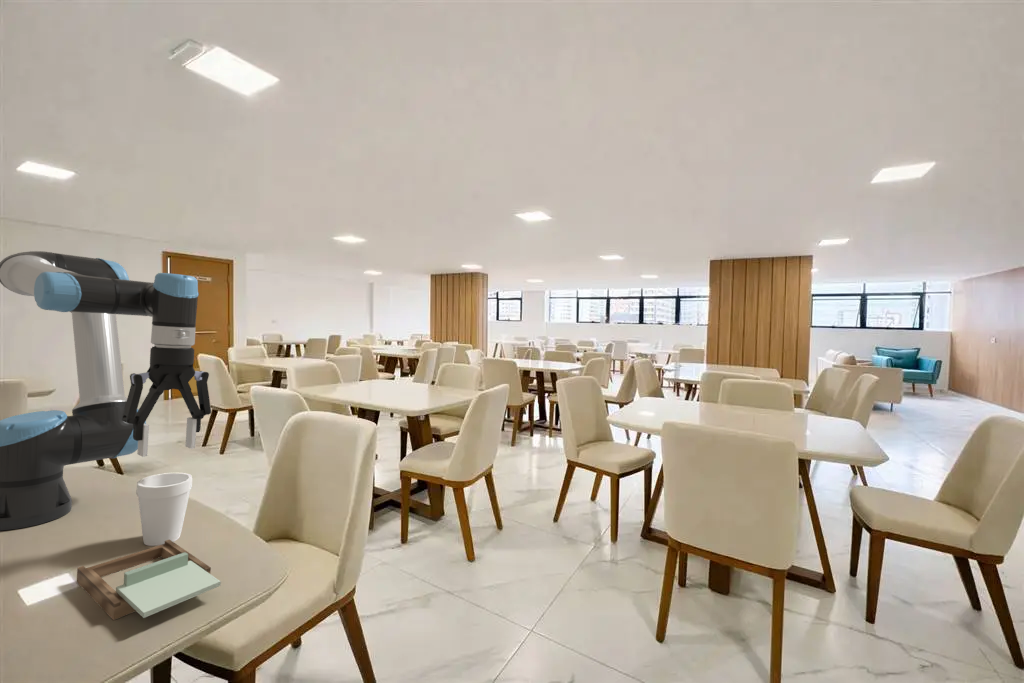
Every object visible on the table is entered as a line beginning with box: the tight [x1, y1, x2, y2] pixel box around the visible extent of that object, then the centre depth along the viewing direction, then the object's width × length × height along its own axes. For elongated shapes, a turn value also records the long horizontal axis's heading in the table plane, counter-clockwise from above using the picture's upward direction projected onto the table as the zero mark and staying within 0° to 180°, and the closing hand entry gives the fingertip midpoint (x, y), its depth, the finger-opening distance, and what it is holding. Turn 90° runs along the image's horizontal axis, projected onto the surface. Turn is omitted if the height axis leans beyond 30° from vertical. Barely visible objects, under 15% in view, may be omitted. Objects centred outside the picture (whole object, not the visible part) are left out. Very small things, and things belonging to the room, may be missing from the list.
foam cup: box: [136, 472, 193, 547], centre depth 96 cm, size 10×9×13 cm
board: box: [76, 539, 212, 621], centre depth 81 cm, size 17×14×3 cm
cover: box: [115, 552, 222, 619], centre depth 76 cm, size 11×11×3 cm
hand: (167, 450), depth 96 cm, fingers open, 8 cm apart
